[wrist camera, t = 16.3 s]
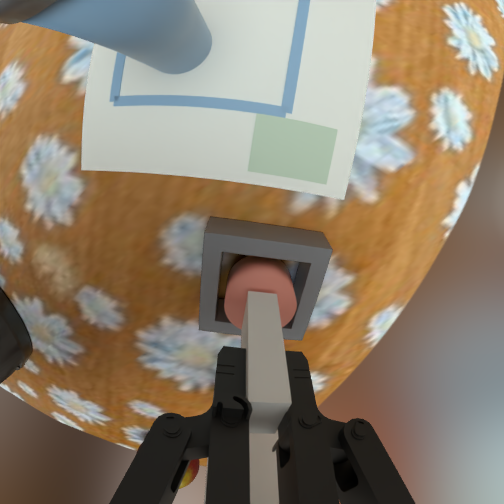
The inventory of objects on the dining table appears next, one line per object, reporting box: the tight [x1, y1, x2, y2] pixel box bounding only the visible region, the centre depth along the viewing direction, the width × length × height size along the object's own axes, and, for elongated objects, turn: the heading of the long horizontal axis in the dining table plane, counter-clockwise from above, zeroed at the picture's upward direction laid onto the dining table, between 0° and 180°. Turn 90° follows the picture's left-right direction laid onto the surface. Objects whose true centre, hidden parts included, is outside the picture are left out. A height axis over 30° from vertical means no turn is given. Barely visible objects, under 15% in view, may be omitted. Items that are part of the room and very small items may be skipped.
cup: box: [204, 387, 279, 504], centre depth 17 cm, size 8×8×16 cm
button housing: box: [199, 217, 333, 340], centre depth 17 cm, size 7×7×2 cm
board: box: [82, 0, 376, 200], centre depth 11 cm, size 16×16×1 cm
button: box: [224, 256, 297, 330], centre depth 16 cm, size 4×4×2 cm
